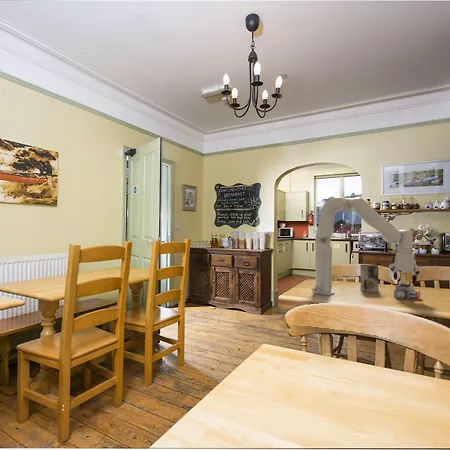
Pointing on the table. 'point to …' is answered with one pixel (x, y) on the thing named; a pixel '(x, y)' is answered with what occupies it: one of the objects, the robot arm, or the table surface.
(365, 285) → the coffee box
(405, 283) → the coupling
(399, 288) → the valve body
